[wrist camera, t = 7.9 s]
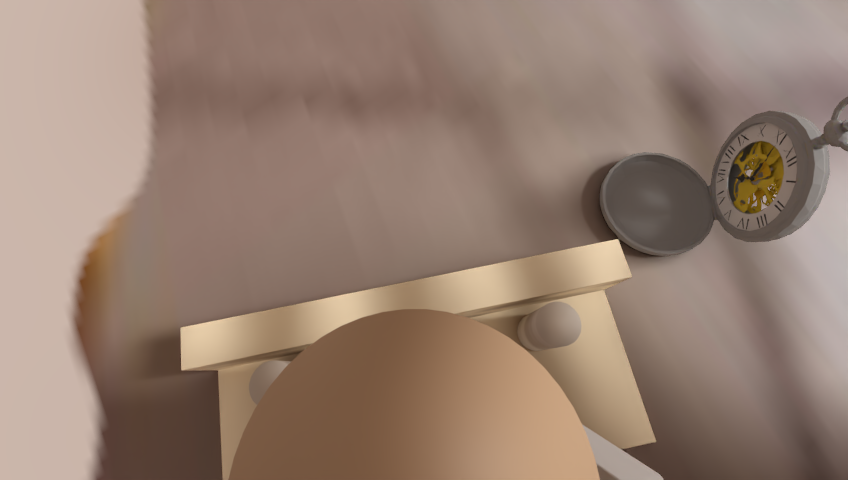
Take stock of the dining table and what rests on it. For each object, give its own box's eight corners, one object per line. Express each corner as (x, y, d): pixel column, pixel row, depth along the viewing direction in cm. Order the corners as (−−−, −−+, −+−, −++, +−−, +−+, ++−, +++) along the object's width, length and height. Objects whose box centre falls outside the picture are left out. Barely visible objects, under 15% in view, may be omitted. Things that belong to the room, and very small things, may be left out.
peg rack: (588, 259, 24) (627, 232, 19) (650, 439, 21) (713, 460, 16) (221, 334, 23) (167, 325, 18) (230, 534, 20) (168, 585, 15)
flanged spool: (485, 314, 17) (568, 234, 7) (529, 495, 15) (737, 747, 5) (324, 347, 17) (171, 312, 7) (347, 537, 15) (176, 905, 5)
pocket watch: (574, 191, 26) (659, 85, 16) (675, 130, 27) (811, -1, 17) (661, 301, 23) (820, 254, 14) (767, 229, 25) (980, 141, 15)
